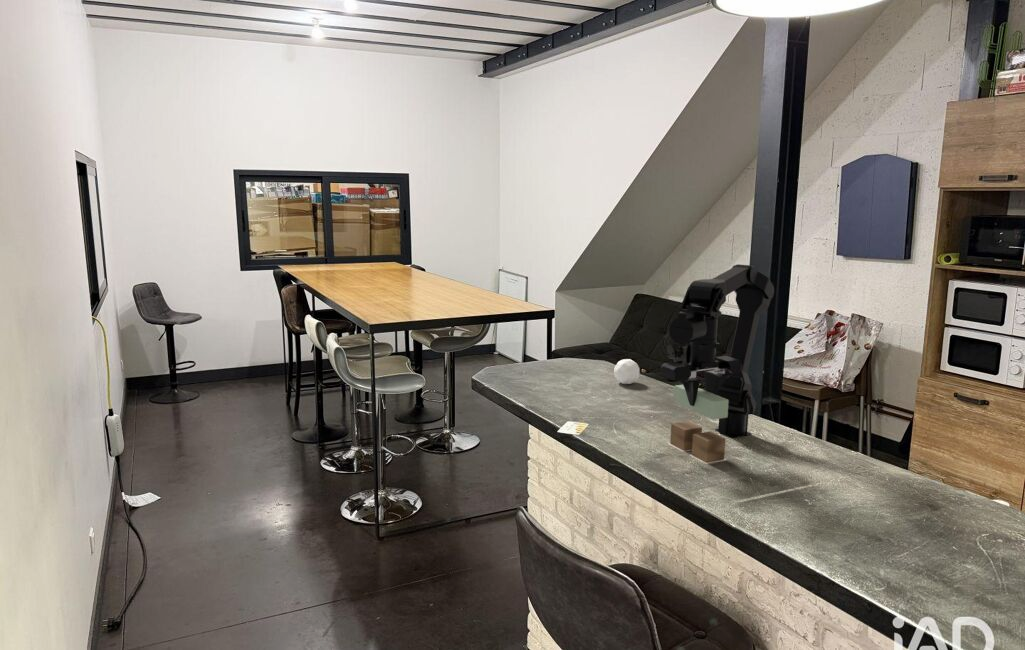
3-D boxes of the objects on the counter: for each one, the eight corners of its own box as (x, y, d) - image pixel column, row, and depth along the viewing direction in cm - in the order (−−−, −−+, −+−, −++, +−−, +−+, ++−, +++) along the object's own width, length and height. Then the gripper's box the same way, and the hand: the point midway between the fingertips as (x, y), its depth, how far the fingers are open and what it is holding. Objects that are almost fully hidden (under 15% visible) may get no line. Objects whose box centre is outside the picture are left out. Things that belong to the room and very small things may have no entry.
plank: (687, 400, 165) (688, 383, 164) (727, 417, 152) (728, 399, 152) (673, 401, 164) (674, 385, 163) (712, 419, 151) (714, 402, 150)
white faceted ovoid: (614, 376, 213) (601, 371, 225) (634, 391, 215) (621, 385, 226) (628, 355, 213) (614, 351, 225) (648, 370, 215) (634, 365, 227)
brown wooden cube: (687, 440, 167) (688, 420, 166) (700, 447, 162) (702, 427, 161) (670, 443, 165) (671, 423, 164) (683, 450, 160) (684, 430, 159)
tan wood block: (709, 452, 160) (710, 431, 159) (724, 459, 155) (725, 438, 154) (691, 455, 158) (692, 434, 157) (706, 462, 153) (707, 441, 152)
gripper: (712, 327, 166) (708, 390, 169) (647, 334, 158) (644, 399, 161) (745, 336, 156) (741, 403, 159) (678, 343, 148) (674, 413, 151)
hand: (699, 404), depth 158 cm, fingers closed on plank, 4 cm apart
